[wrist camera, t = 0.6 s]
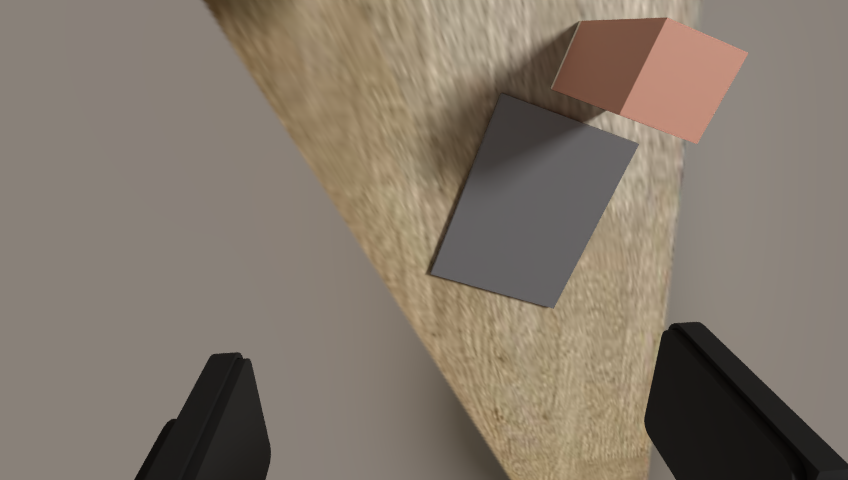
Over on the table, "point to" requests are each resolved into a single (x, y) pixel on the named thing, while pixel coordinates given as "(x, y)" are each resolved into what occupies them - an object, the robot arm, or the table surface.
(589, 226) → the mat
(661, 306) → the table surface
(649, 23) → the salmon pink block
